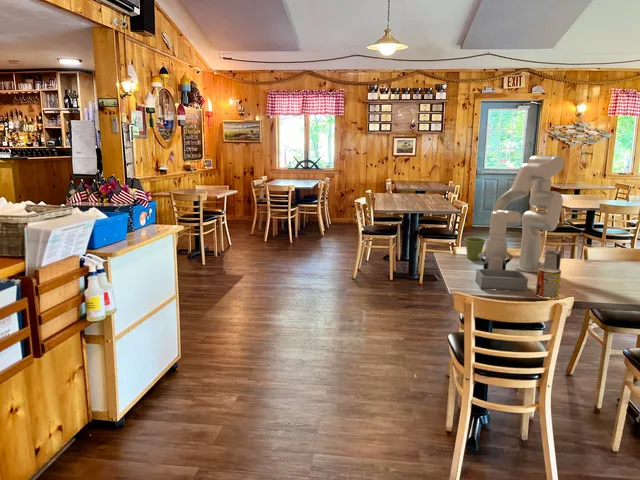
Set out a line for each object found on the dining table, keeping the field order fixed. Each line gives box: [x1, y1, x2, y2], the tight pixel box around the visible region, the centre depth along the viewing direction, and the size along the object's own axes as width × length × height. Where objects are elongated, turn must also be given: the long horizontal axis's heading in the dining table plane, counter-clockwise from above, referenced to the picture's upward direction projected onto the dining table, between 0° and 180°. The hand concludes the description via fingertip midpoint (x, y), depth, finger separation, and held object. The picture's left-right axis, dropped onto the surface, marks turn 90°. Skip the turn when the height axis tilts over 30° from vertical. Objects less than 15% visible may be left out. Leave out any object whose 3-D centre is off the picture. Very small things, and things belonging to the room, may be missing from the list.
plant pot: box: [463, 237, 487, 261], centre depth 272 cm, size 12×12×11 cm
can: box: [487, 256, 503, 270], centre depth 232 cm, size 8×8×12 cm
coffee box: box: [543, 249, 562, 270], centre depth 221 cm, size 9×6×16 cm
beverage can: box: [535, 267, 562, 298], centre depth 205 cm, size 9×9×12 cm
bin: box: [475, 268, 529, 292], centre depth 219 cm, size 20×14×6 cm
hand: (494, 271), depth 233 cm, fingers closed on can, 7 cm apart
